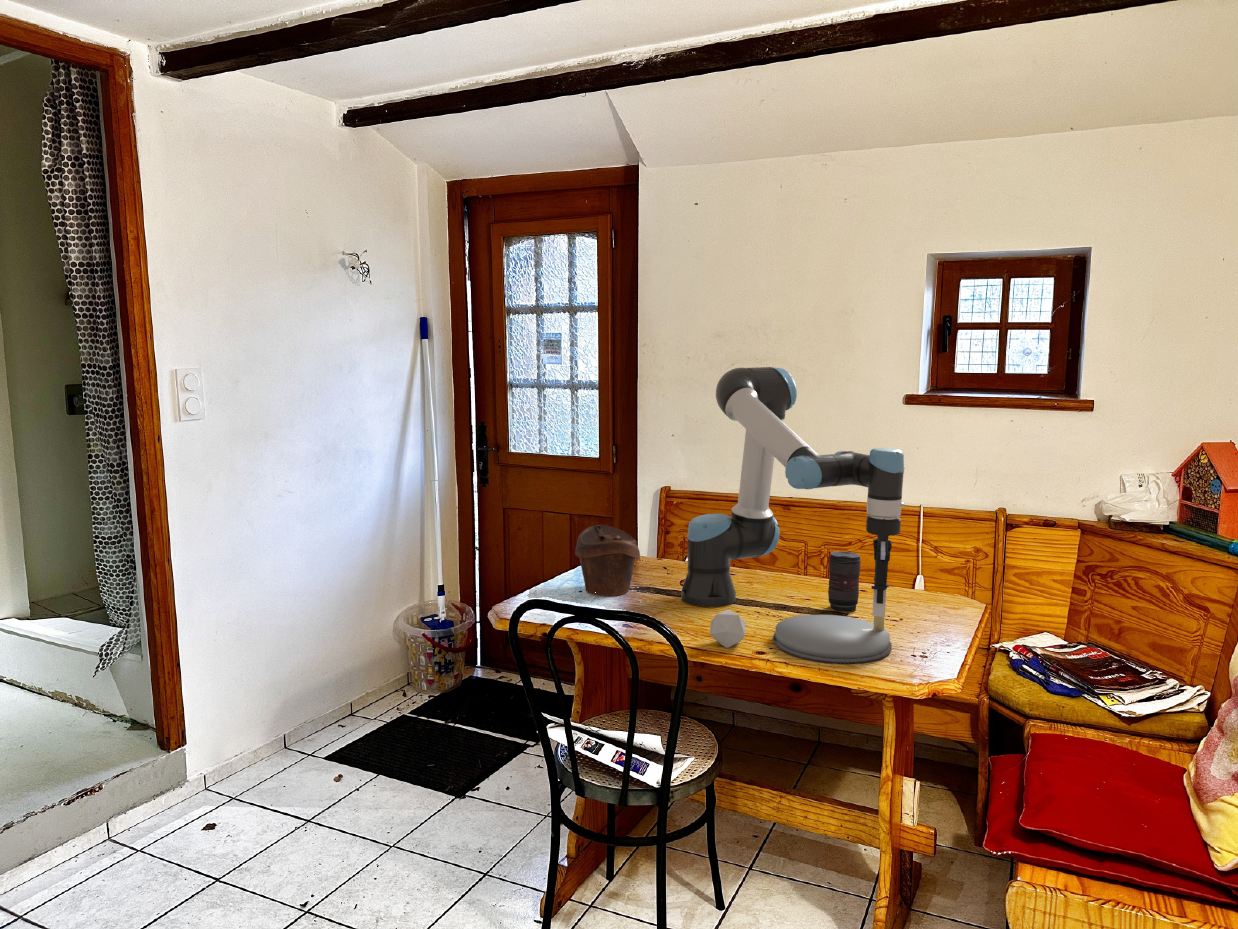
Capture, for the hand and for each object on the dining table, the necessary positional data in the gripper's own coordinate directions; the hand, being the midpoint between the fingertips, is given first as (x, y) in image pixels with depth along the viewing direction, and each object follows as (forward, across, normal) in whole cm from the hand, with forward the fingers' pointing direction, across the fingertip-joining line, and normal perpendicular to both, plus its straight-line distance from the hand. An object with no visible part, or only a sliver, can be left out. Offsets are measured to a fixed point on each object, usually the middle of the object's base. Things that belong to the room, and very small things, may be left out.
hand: (878, 615), depth 198 cm
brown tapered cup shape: (+9, +29, +74) cm, 80 cm away
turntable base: (+7, -2, +10) cm, 13 cm away
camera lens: (+8, +28, +8) cm, 30 cm away
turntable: (+6, -2, +10) cm, 12 cm away
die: (+8, -8, +34) cm, 36 cm away
